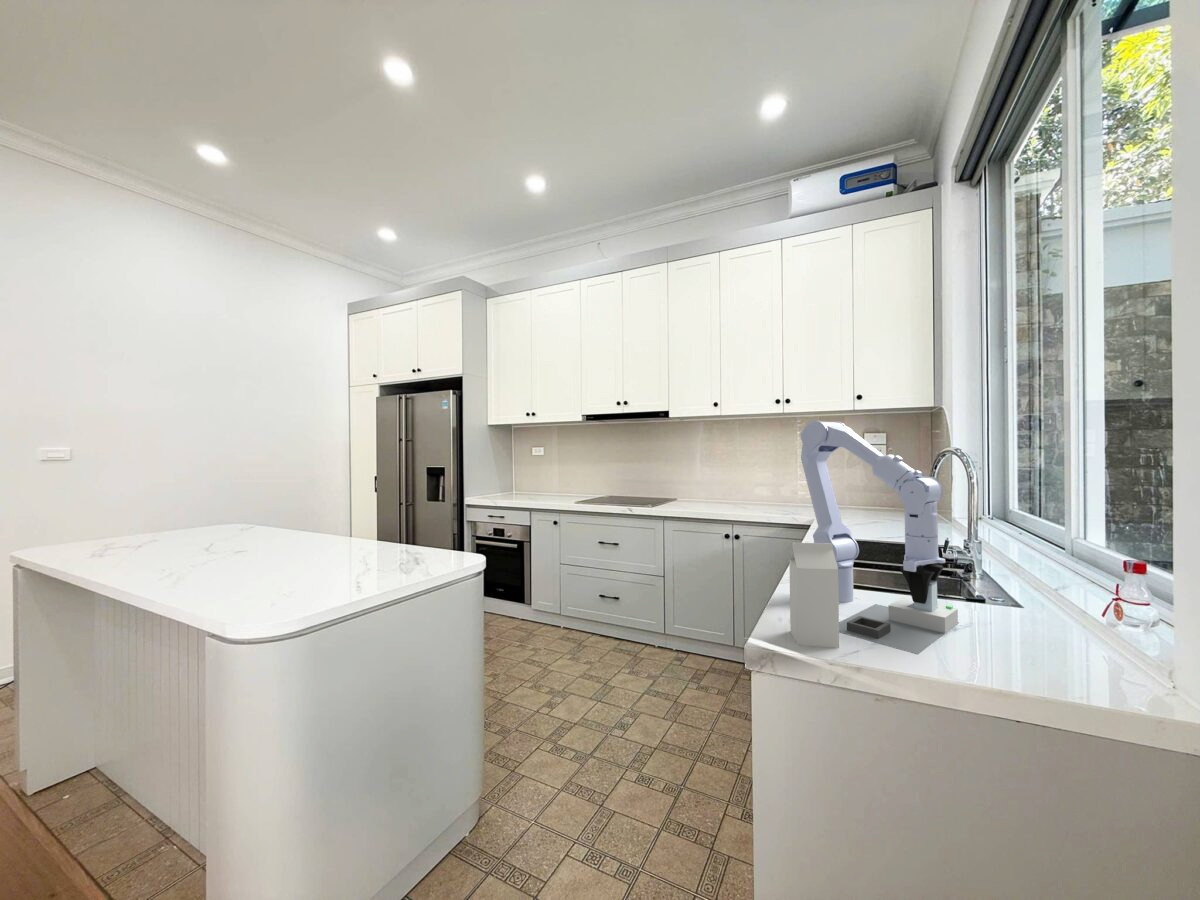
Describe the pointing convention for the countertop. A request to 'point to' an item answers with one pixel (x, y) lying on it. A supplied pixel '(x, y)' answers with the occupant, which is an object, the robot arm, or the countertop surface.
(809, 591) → the milk carton
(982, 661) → the countertop surface
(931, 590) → the plug
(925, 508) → the robot arm
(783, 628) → the countertop surface
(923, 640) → the panel
